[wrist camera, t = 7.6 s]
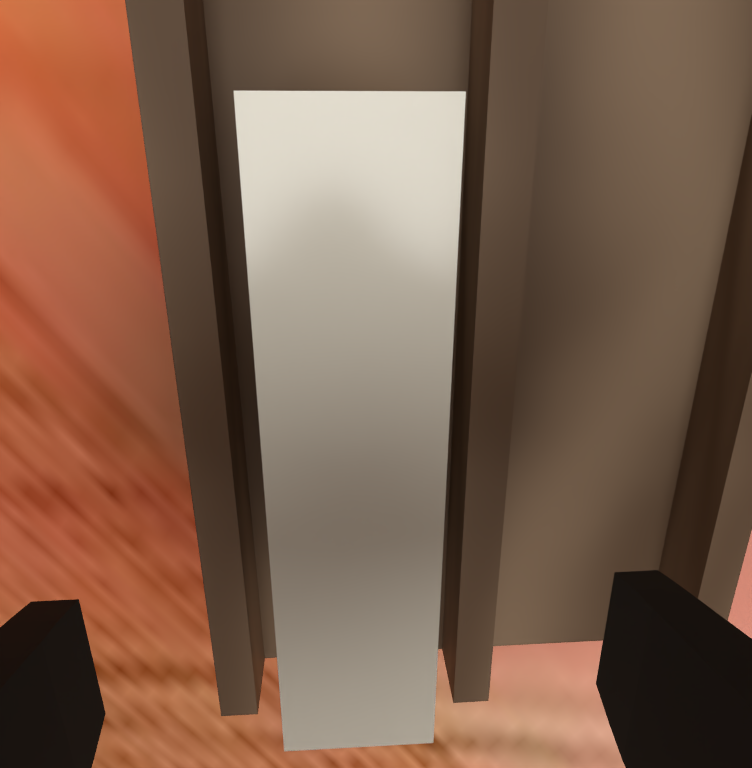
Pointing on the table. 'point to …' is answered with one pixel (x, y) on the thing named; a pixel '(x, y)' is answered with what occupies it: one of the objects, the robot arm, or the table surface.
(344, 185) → the white rectangular block
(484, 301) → the rack
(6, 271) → the table surface
